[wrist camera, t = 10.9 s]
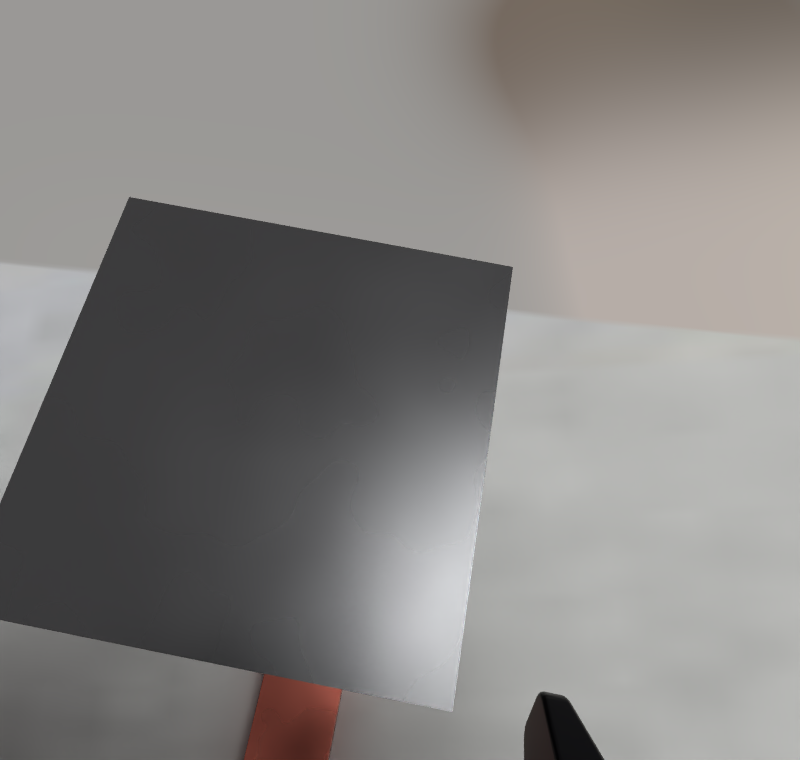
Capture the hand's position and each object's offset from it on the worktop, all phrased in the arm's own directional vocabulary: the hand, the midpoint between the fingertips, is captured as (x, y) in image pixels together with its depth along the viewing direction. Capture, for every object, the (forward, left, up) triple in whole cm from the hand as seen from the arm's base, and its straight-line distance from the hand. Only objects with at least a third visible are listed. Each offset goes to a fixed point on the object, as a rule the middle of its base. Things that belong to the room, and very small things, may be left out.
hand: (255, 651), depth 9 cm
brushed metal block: (+3, +1, -9) cm, 9 cm away
